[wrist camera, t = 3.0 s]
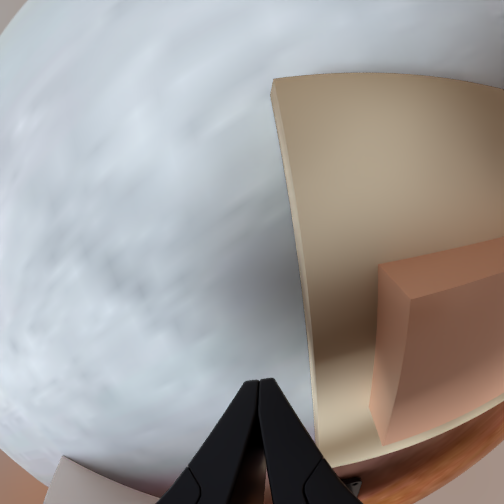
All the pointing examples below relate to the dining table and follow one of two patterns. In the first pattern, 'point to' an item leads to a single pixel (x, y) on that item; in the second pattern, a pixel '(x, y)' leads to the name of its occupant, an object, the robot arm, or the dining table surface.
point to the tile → (437, 338)
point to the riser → (379, 217)
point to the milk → (90, 488)
